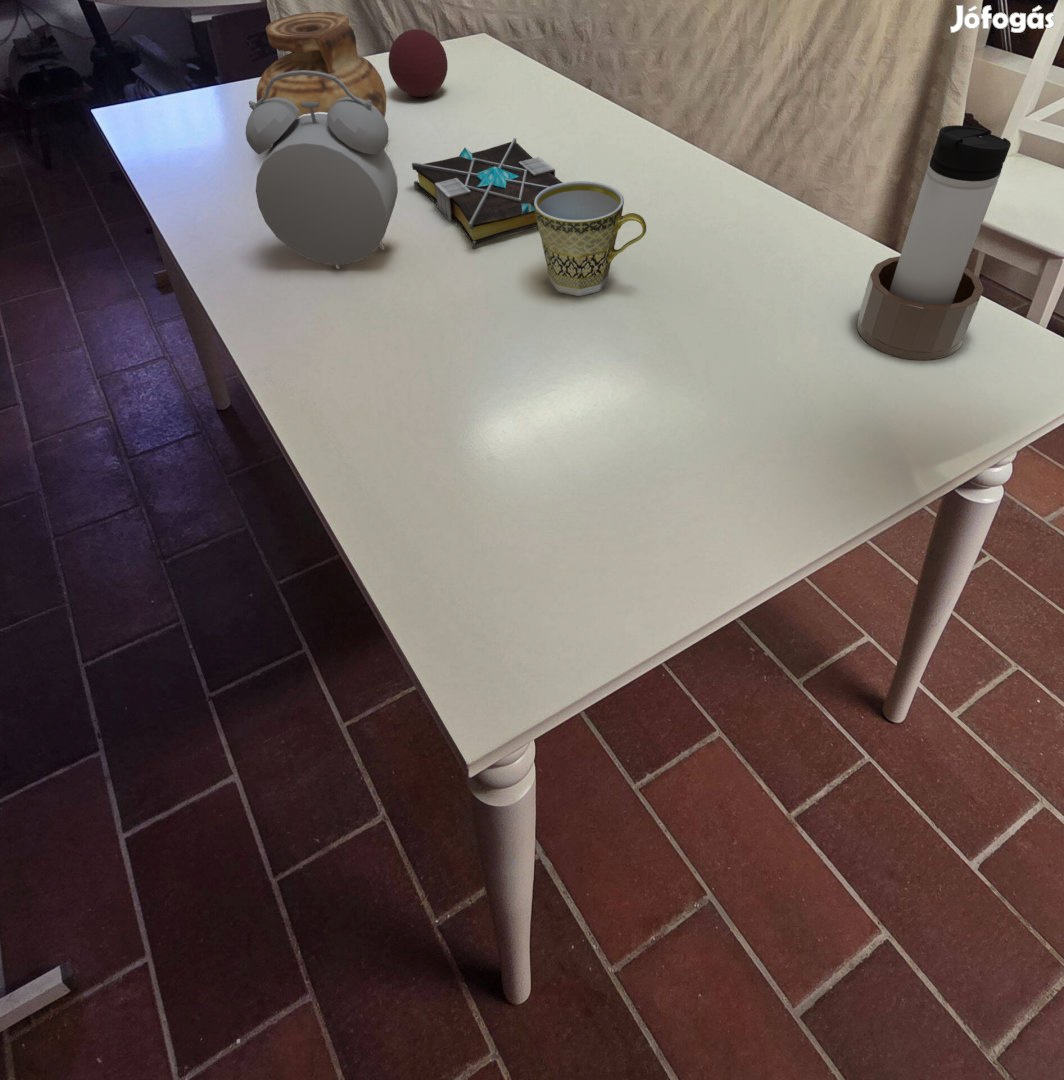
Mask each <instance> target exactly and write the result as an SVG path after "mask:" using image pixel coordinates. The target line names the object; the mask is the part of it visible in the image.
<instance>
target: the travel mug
mask: <svg viewBox="0 0 1064 1080" xmlns="http://www.w3.org/2000/svg"><path fill="white" fill-rule="evenodd" d="M1011 144H1012V143H1011V141H1010V140H1009V139H1007V138H1006V137H1003V138H1001V137H1000V136H997V135H995V134H991V133H990V130H987V129H984V128H980V127H975V126H969V125H957V124H956V125H946V126H943V127H941V128H940V129H939V132H938V135H937V137H936V141H935V144H934V147H933V151H932V155H931V157H930V160H929V161H928V164H927V169H926V170H925V175H924V177H923V180H922V184H921V186H920V187H921V188H920V191H919V193H918V197H917V200H916V204H915V207H914V211H913V213H912V217H911V219H910V223H909V227H908V228H907V229H908V230H907V233H906V236H905V239H904V243H903V246H902V249H901V252H900V255H899V256H900V258H899V262H898V265H897V268H896V271H895V274H894V278H893V281H892V284H891V287H890V291H889V292H890V293H891V294H894V295H896V296H898V297H900V298H902V299H904V300H907V301H911V302H916V303H920V304H924V305H949V304H952V302H953V300H954V297H955V294H956V292H957V289H958V286H959V284H960V281H961V278H962V276H963V273H964V270H965V268H967V265H968V262H969V259H970V257H971V255H972V251H973V249H974V246H975V243H976V241H977V238H978V237H979V236H978V235H979V232H980V230H981V228H982V225H983V222H984V219H985V217H986V215H987V211H988V209H989V206H990V204H991V201H992V198H993V195H994V193H995V191H996V187H997V185H998V182H999V179H1000V177H1001V174H1002V170H1003V167H1004V163H1005V162H1006V159H1007V156H1008V153H1009V151H1010V149H1011V146H1012V145H1011Z"/></svg>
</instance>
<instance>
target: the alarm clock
mask: <svg viewBox="0 0 1064 1080" xmlns="http://www.w3.org/2000/svg"><path fill="white" fill-rule="evenodd" d="M298 75H309V76H317V77H324V78H327V79H330V80H333V81H334V82H335V83H337V84H338V85H339V86H340V87H341V88H342V89H343V90H344V91H345V92H346V94H347V95H348V96H349V97H343V98H340V99H338V100H337V101H336V102H335V103H334V104H333V105H332V106H331V107H330V108H329V111H328V113H325V112H317V113H314V110H313V108H318V107H319V102H302V103H301V106H302V107H303V108H309V109H310V114H304V115H302V116H300V117H298V118H296V117H297V115H298V113H299V111H300V110H299V109H298V108H297V107H296V105H295V104H294V103H292V102H291V101H289V100H287V99H285V98H280V97H275V98H270V99H267V100H266V98H267V96H268V95H269V91H270V88H271V86H272V85H273V83H274V82H275V81H277V80H279V79H281V78H285V77H291V76H298ZM248 105H249V107H250V109H251V110H252V111H251V112H250V114H249V117H248V118H247V121H246V125H245V139H246V141H247V143H248V145H249V146H250V149H252V151H254V152H255V154H256V155H261V154H263V153H264V152H266V151H267V150H268V149H269V151H268V152H267V154H266V156H265V158H264V159H263V161H262V164H261V165H260V168H259V170H258V172H257V174H256V184H255V194H256V195H255V196H256V201H257V206H258V209H259V211H260V214H261V215H262V218H263V220H264V222H265V224H266V225H267V227H269V229H270V230H271V232H272V233H273V234H274V236H275V237H276V238H277V239H278V240H279V241H280V242H282V243H283V244H284V245H285V246H286V247H287V248H288V249H289V250H291V251H293V252H294V253H297V254H298V255H300V256H302V257H303V258H305V259H308V260H311V261H314V262H317V263H318V264H319V263H320V264H324V265H325V264H327V265H333V266H335V268H336V269H337V270H338V269H340V268H341V265H350V264H354V263H356V262H359V261H361V260H363V259H366V258H367V257H368V256H370V255H371V254H372V253H374V251H376V250H377V249H378V247H379V249H381V250H382V251H384V250H385V249H386V248H385V245H384V244H383V242H382V241H383V239H384V238H385V235H386V232H387V229H388V226H389V223H390V221H391V217H392V214H393V212H394V209H395V206H396V202H397V197H398V193H399V183H398V174H397V171H396V167H395V164H394V162H393V159H392V157H391V155H390V154H389V152H388V150H387V149H386V146H387V144H388V143H389V142H388V141H389V125H388V122H387V121H386V119H384V117H383V115H382V114H381V112H380V111H379V110H378V109H377V108H376V107H375V106H373V105H372V102H371V100H368V101H366V100H364V99H361V98H357V97H355V96H354V95H353V94H352V93H351V92H350V91H349V90H348V89H347V87H346V86H345V84H344V83H342V82H341V81H340V80H339V79H338V78H336V77H335V76H332V75H329V74H326V73H322V72H316V71H307V70H299V71H290V72H286V73H281V74H279V75H277V76H274V77H273V78H272V79H271V81H270V82H269V83H268V85H267V87H266V93H265V95H264V96H263V98H262V99H260V100H259V101H258V102H257V101H256V102H255V101H252V100H249V101H248ZM295 118H296V119H295Z"/></svg>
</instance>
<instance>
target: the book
mask: <svg viewBox="0 0 1064 1080" xmlns="http://www.w3.org/2000/svg"><path fill="white" fill-rule="evenodd" d="M411 167H412V170H413V171H415V172H417V177H418V181H417V180H414V181H413V187H414V189H416V190H420V191H422V192H423V193H424V194H426V196H428V197H429V199H432V200H433V201H434V203H436V205H437V210H438V211H439V212H440V213H441V214H442V215H443V216H444V217H445V218H446V219H447V220H448V222H449V223H450V224H451V223H457V225H459V226H460V228H461V229H462V230H463V232H464V233H465V235H466V236H467V238H468V240H469V241H470V243H471V244H472V249H476V248H477V246H478V245H481V244H484V243H487V242H491V241H493V240H497V239H499V238H503V237H505V236H509V235H513V234H517V233H520V232H524V231H528V230H532V229H535V228H538V224H537V219H536V214H535V207H534V201H535V198H536V196H537V195H538V194H539V193H540V192H541V191H543V190H544V189H546V188H548V187H550V186H553V185H556V184H560V183H564V182H563V181H561V180H560V179H559V178H558V177H556V169H555V168H554V167H553V166H551V164H549V163H548V162H547V161H545V160H544V159H543V158H542V157H540V156H537V157H533V156H532V155H531V154H529V152H527V151H526V150H525V149H524V148H523V147H522V146H521V145H520V144H519V143H518V142H517V137H513V139H512V141H510V142H506V143H502V144H498V145H496V146H493V147H490V148H486V149H483V150H479V151H478V150H477V151H474V152H471V151H470V150H469V149H468V148H467V147H464V148H463V149H462V151H461V153H460V154H459V155H458V156H454V157H450V158H446V159H441V160H437V161H432V162H425V163H419V162H412V163H411Z"/></svg>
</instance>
